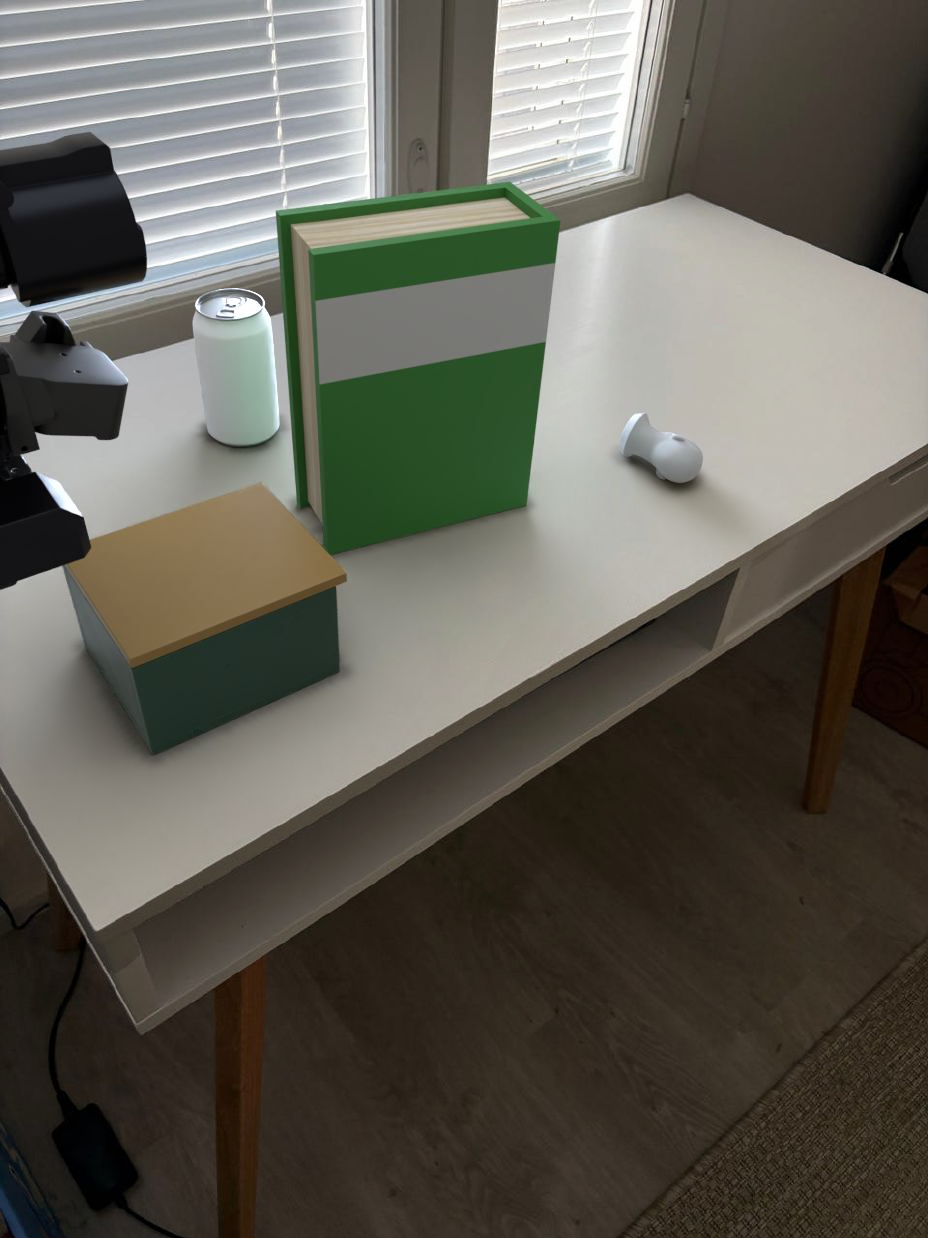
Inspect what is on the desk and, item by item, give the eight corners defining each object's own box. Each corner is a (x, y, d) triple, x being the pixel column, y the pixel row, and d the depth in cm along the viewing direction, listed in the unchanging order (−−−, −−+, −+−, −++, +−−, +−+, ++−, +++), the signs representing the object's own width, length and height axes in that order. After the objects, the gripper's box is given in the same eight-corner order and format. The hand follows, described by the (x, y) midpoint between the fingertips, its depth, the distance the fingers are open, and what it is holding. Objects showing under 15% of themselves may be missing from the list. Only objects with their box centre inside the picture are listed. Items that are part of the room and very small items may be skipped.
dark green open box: (261, 578, 76) (252, 494, 71) (340, 671, 70) (336, 586, 64) (84, 646, 70) (60, 560, 65) (152, 756, 63) (131, 669, 58)
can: (287, 413, 93) (278, 289, 85) (270, 452, 88) (258, 325, 80) (218, 406, 93) (202, 282, 85) (197, 444, 89) (178, 317, 81)
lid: (262, 490, 71) (261, 481, 71) (347, 581, 65) (347, 572, 64) (60, 559, 65) (57, 549, 64) (131, 669, 58) (129, 659, 58)
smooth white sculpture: (703, 491, 90) (670, 496, 86) (639, 448, 94) (605, 450, 91) (725, 448, 88) (691, 451, 84) (658, 405, 92) (623, 406, 88)
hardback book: (327, 555, 79) (313, 254, 62) (296, 502, 83) (275, 210, 67) (526, 505, 85) (560, 219, 69) (486, 458, 90) (509, 181, 73)
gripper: (169, 370, 44) (211, 627, 55) (27, 221, 55) (85, 460, 66) (-101, 443, 39) (3, 711, 50) (-200, 263, 50) (-97, 515, 61)
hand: (5, 584), depth 57 cm, fingers closed
